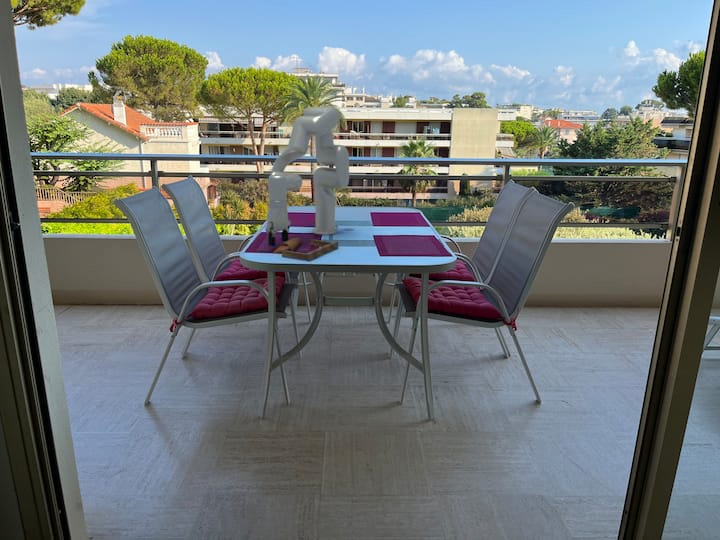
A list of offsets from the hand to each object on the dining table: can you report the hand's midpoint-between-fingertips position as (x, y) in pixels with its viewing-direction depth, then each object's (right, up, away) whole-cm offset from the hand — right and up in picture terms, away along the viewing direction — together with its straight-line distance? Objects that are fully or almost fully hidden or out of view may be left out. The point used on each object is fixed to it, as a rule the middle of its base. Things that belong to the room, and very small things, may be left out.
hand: (278, 243), depth 230 cm
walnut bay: (+14, -4, -6) cm, 16 cm away
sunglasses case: (+4, -3, -1) cm, 5 cm away
